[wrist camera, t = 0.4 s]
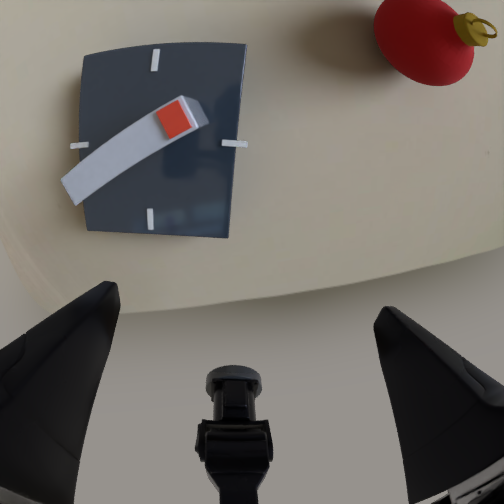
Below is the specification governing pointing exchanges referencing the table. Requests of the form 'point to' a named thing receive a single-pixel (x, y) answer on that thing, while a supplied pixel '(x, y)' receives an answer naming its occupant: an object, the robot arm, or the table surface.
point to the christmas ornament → (429, 39)
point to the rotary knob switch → (174, 155)
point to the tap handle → (134, 146)
